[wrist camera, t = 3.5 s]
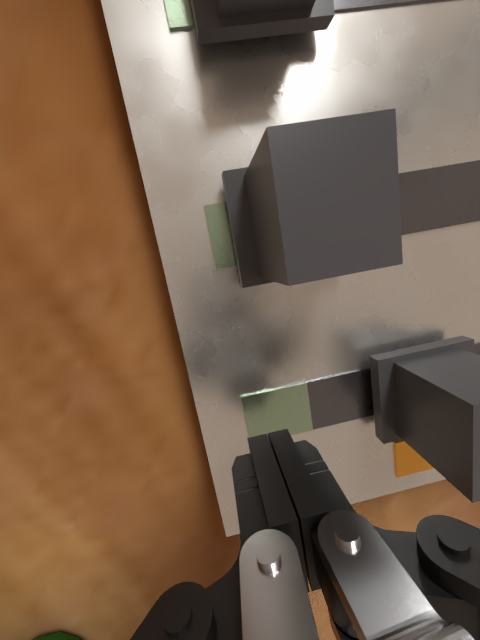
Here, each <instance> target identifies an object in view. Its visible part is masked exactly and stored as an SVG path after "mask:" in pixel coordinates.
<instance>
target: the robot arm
mask: <svg viewBox="0 0 480 640" xmlns="http://www.w3.org/2000/svg"><path fill="white" fill-rule="evenodd" d="M247 440H248V446H249V451H250V453H249V454H245V455H240V456H236V458H235V460H234V463H233V466H232V476H233V483H234V491H235V499H236V507H237V514H238V522H239V529H240V537H241V547H240V552H239V555H238V558H237V560H236V562H235V564H234V565H233V567H232V568H231V569H230V570H229V571H228V573H227V574H226V575H224V576H223V577H222V578H221V579H219V580H218V581H216V582H215V583H213V584H212V585H210V586H209V587H208V588H206V589H204V588H203V587H202V586H201V585H199V584H197V583H194V582H182V583H179V584H177V585H174V586H173V587H171V588H169V589H168V590H167V591H166V592H164V593H163V594H162V595H161V596H160V598H159V599H158V600H157V601H156V603H155V604H154V606H153V607H152V609H151V610H150V611H149V613H148V614H147V616H146V617H145V619H144V620H143V622H142V623H141V625H140V626H139V628H138V629H137V630H136V632H135V633H134V635H133V636H132V638H131V639H130V640H319V637H318V633H317V629H316V625H315V620H314V616H313V612H312V608H311V604H310V600H309V596H308V592H309V586H308V581H309V584H310V587H311V590H312V591H314V590H317V589H322V592H323V595H324V598H325V601H326V603H327V606H328V612H329V619H330V624H331V627H332V630H333V632H334V635H335V637H336V640H480V529H479V528H476V527H474V526H472V525H469V524H467V523H465V522H463V521H460V520H458V519H455V518H452V517H449V516H443V515H432V516H428V517H425V518H423V519H422V520H421V521H420V522H419V523H418V525H417V529H416V532H404V531H391V530H385V529H381V528H378V527H375V526H373V525H372V524H371V523H370V522H369V521H368V520H367V519H366V518H364V517H363V516H361V515H359V514H357V513H356V512H355V511H354V509H353V508H352V506H351V504H350V503H349V501H348V499H347V498H346V496H345V495H344V493H343V491H342V490H341V488H340V486H339V485H338V483H337V481H336V480H335V478H334V476H333V475H332V473H331V471H329V468H328V466H327V465H326V463H325V461H323V458H322V456H321V455H320V453H319V451H318V450H317V448H316V447H315V446H313V445H312V444H310V443H309V442H308V441H306V440H302V441H298V442H294V441H293V439H292V437H291V435H290V433H289V431H288V429H283V430H279V431H275V432H271V433H268V436H267V434H263V435H258V436H254V437H250V438H247ZM307 578H308V580H307Z"/></svg>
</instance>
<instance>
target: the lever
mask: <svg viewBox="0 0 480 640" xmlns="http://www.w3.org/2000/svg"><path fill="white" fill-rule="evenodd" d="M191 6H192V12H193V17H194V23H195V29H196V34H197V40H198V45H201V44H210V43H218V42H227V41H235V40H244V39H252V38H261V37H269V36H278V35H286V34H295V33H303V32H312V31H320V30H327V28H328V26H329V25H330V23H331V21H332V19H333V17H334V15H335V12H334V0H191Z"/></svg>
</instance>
